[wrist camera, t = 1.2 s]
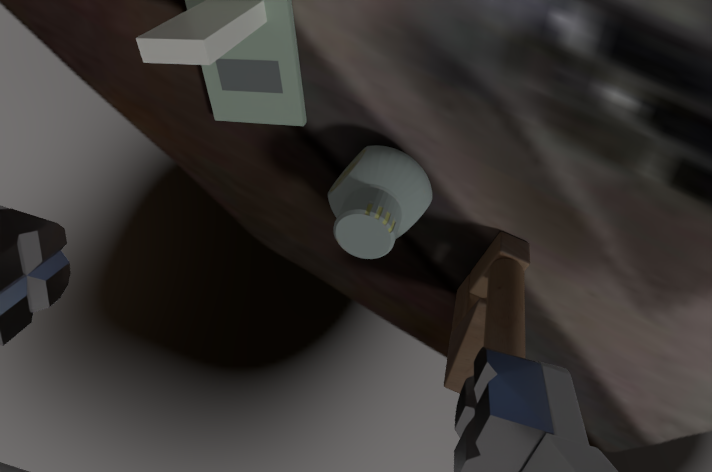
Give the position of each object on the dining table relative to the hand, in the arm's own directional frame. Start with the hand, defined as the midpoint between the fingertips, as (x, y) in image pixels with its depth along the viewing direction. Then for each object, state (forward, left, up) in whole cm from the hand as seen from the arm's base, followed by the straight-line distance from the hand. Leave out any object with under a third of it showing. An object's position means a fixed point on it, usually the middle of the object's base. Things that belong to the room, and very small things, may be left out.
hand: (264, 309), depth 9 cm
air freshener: (+22, +6, -39) cm, 45 cm away
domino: (+13, -14, -38) cm, 42 cm away
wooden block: (+25, +22, -39) cm, 51 cm away
